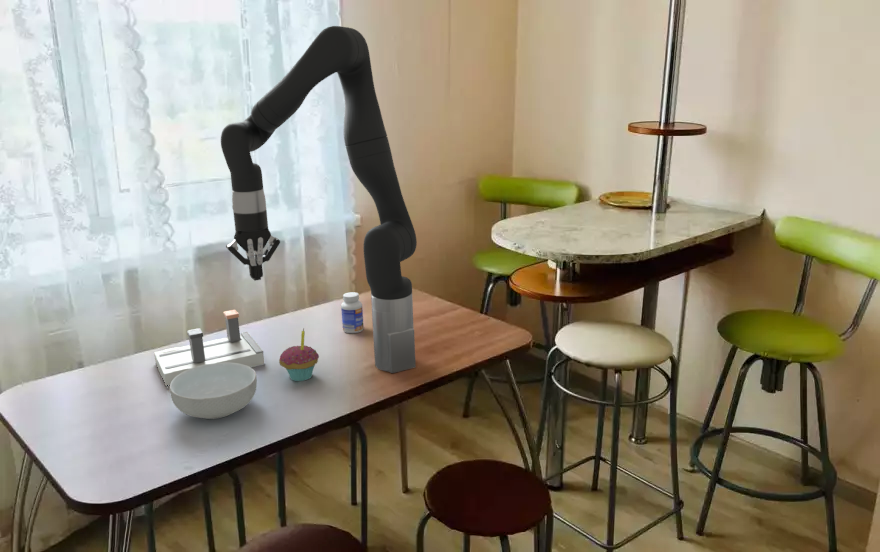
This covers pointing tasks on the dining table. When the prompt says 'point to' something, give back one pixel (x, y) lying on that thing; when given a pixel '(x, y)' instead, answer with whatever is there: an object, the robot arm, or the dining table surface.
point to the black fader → (196, 345)
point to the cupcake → (299, 361)
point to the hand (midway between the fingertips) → (256, 279)
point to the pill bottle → (352, 313)
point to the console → (209, 356)
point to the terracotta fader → (232, 325)
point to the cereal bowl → (213, 389)
